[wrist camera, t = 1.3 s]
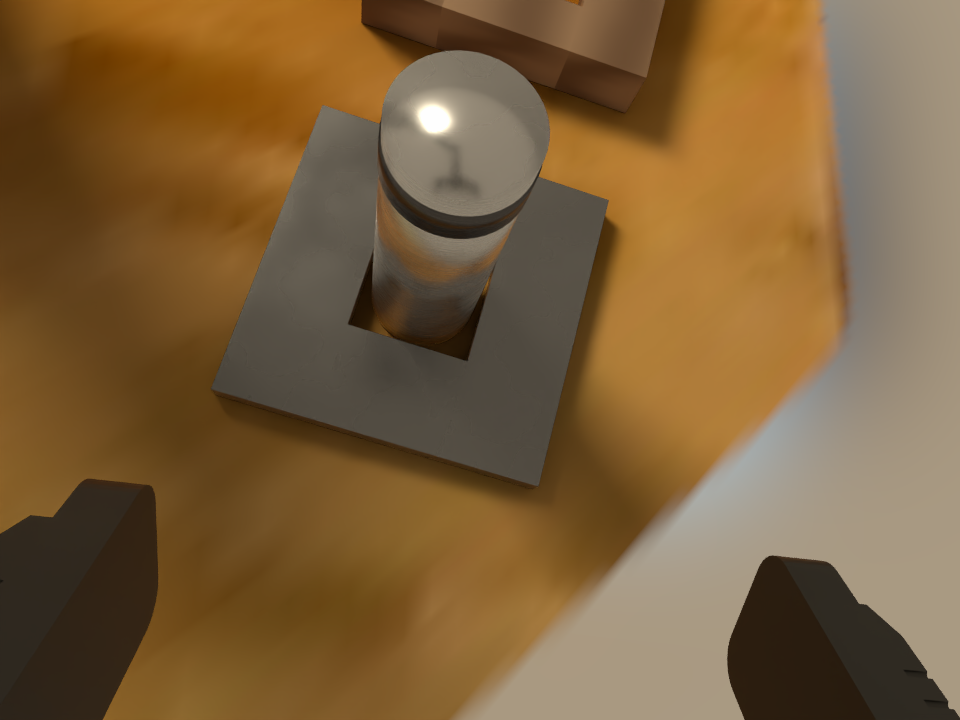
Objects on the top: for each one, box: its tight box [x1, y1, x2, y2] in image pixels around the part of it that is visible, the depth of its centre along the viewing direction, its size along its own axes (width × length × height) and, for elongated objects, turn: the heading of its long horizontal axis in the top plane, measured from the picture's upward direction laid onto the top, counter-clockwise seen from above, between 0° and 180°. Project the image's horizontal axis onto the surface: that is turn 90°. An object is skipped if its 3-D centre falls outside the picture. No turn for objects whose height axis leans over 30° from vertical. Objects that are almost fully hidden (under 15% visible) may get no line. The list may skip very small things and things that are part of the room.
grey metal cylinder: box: [371, 50, 550, 346], centre depth 23 cm, size 4×4×12 cm
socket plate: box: [211, 105, 609, 489], centre depth 28 cm, size 12×12×1 cm
